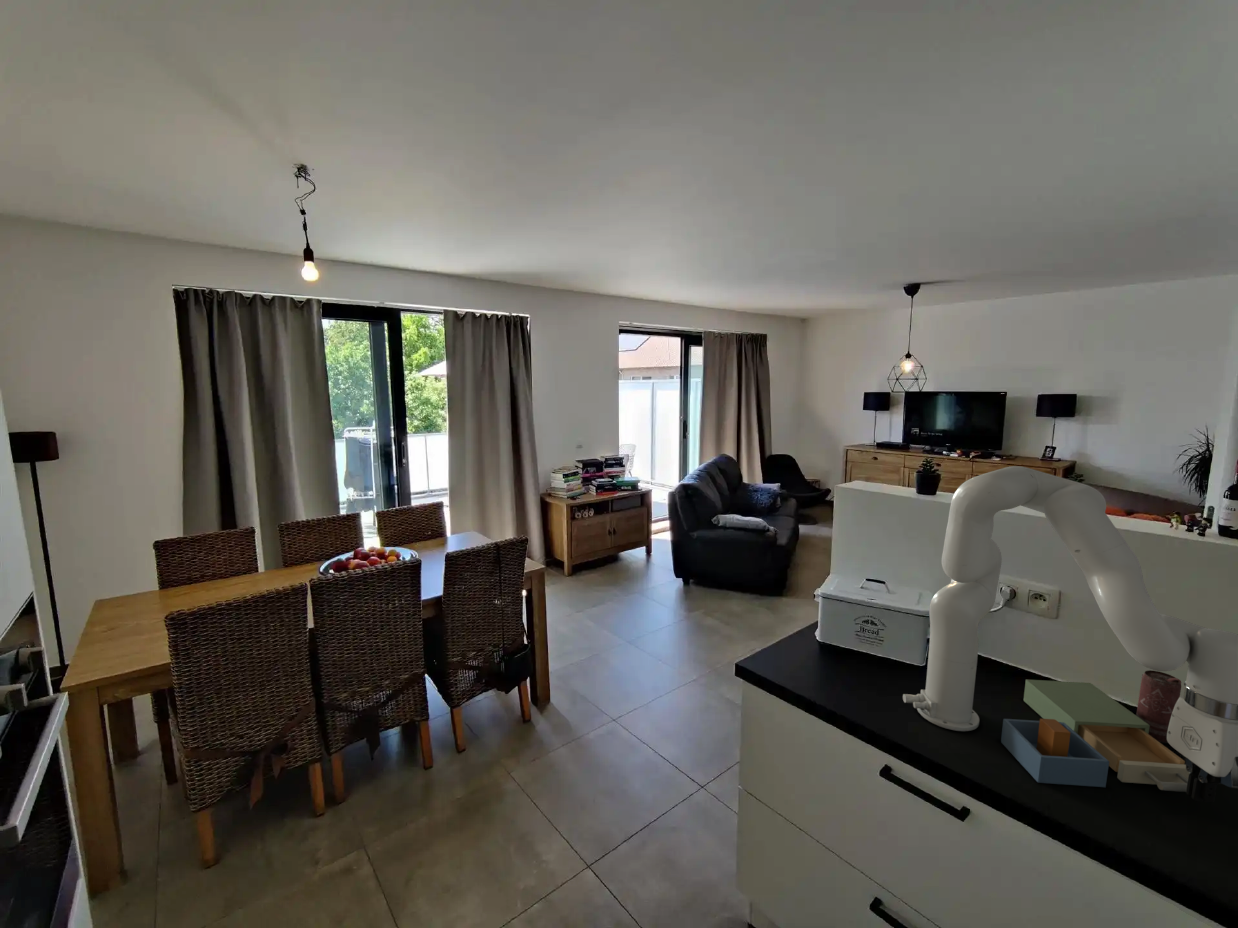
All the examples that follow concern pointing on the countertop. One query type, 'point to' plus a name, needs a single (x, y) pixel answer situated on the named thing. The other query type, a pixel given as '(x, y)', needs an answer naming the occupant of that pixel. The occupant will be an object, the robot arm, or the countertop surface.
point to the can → (1158, 702)
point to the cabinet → (1078, 705)
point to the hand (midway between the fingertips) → (1199, 797)
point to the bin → (1071, 770)
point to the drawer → (1137, 756)
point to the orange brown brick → (1052, 738)
